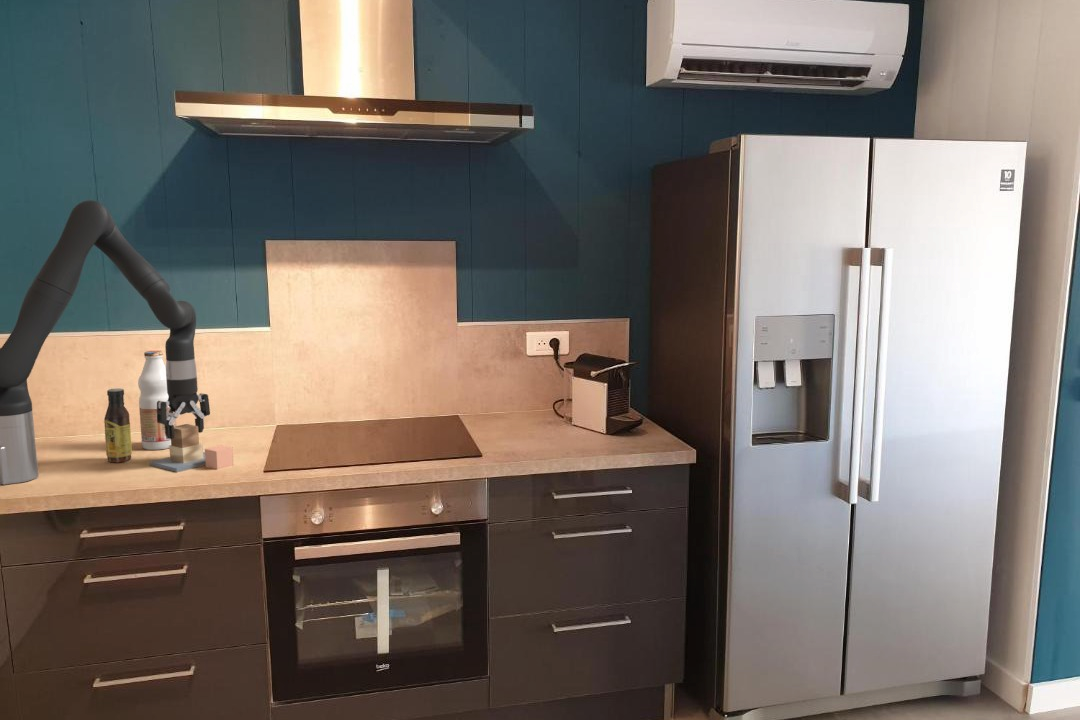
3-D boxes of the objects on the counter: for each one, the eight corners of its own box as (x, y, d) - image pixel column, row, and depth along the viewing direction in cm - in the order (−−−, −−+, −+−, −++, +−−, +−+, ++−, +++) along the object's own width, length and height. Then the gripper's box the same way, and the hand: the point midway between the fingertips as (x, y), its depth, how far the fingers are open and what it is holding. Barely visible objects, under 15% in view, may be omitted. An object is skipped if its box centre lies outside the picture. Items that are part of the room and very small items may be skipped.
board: (176, 472, 217) (176, 468, 217) (150, 465, 224) (149, 461, 224) (223, 460, 229) (223, 456, 229) (196, 453, 235) (196, 450, 235)
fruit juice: (140, 451, 237) (133, 354, 233) (143, 443, 246) (137, 350, 242) (176, 448, 240) (170, 352, 236) (178, 441, 249) (172, 348, 245)
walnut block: (182, 448, 222) (181, 429, 221) (171, 445, 225) (170, 427, 224) (199, 444, 226) (198, 426, 225) (188, 441, 229) (186, 423, 228)
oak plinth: (183, 463, 222) (182, 448, 221) (170, 459, 225) (169, 445, 225) (203, 458, 227) (202, 443, 226) (190, 454, 230) (189, 440, 230)
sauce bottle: (103, 460, 228) (98, 389, 225) (127, 456, 233) (122, 386, 230) (111, 465, 224) (106, 392, 221) (136, 460, 228) (131, 389, 225)
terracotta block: (217, 469, 220) (216, 451, 219) (205, 466, 223) (204, 448, 222) (233, 465, 224) (232, 447, 223) (221, 462, 227) (220, 444, 226)
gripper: (165, 381, 215) (169, 442, 217) (213, 373, 227) (216, 431, 229) (148, 378, 219) (152, 438, 221) (196, 371, 231) (200, 428, 233)
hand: (185, 435), depth 225 cm, fingers open, 8 cm apart
